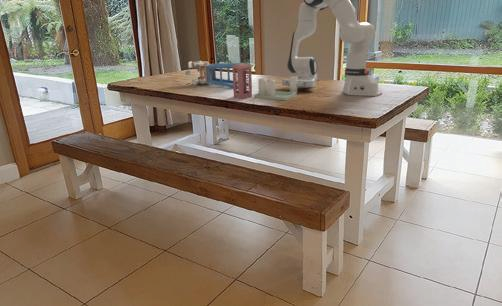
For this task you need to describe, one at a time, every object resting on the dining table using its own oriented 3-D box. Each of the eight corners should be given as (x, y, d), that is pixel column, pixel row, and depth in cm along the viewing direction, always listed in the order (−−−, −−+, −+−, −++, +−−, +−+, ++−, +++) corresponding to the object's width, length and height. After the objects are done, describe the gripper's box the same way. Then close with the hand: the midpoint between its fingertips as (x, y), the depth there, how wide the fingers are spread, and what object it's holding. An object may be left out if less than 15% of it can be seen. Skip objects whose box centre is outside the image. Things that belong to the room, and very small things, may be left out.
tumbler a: (276, 96, 221) (276, 79, 218) (273, 98, 218) (272, 80, 214) (269, 96, 224) (269, 78, 220) (265, 97, 220) (265, 80, 216)
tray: (296, 96, 223) (296, 92, 223) (285, 101, 212) (285, 97, 211) (265, 94, 233) (265, 90, 232) (254, 98, 222) (254, 94, 221)
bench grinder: (196, 58, 281) (250, 61, 259) (198, 81, 286) (251, 85, 265) (182, 61, 267) (237, 64, 246) (184, 85, 273) (238, 90, 252)
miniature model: (245, 96, 231) (243, 61, 224) (253, 98, 223) (252, 63, 216) (232, 98, 226) (230, 63, 219) (240, 100, 219) (238, 65, 212)
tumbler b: (268, 96, 224) (267, 78, 220) (264, 97, 220) (263, 80, 217) (261, 95, 226) (260, 78, 223) (257, 97, 223) (256, 79, 219)
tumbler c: (298, 93, 232) (298, 76, 229) (295, 94, 228) (295, 77, 225) (291, 92, 234) (291, 76, 231) (288, 94, 231) (288, 77, 227)
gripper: (287, 74, 244) (277, 78, 233) (317, 76, 234) (308, 80, 223) (287, 84, 246) (277, 88, 235) (317, 86, 236) (308, 91, 225)
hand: (292, 84), depth 229 cm, fingers closed on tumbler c, 5 cm apart
